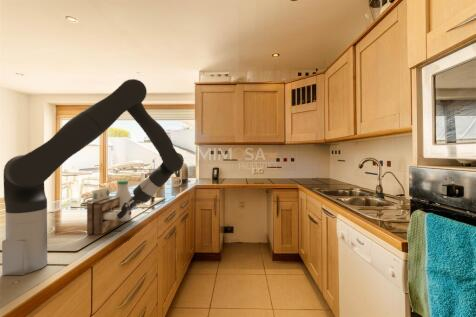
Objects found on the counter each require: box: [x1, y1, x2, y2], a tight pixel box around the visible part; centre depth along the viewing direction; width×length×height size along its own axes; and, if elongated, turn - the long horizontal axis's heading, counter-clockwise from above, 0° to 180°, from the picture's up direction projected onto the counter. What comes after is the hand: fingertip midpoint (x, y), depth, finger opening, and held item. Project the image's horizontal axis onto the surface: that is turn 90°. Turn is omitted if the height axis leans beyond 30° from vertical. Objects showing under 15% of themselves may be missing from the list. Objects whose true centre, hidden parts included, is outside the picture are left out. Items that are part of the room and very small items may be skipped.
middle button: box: [108, 210, 121, 214], centre depth 109 cm, size 3×5×3 cm, turn 88°
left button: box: [102, 212, 117, 220], centre depth 104 cm, size 3×5×3 cm, turn 88°
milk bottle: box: [114, 180, 132, 223], centre depth 123 cm, size 8×8×20 cm
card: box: [91, 186, 111, 203], centre depth 109 cm, size 12×1×5 cm, turn 178°
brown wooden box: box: [86, 196, 121, 235], centre depth 109 cm, size 15×6×13 cm, turn 178°
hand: (119, 216), depth 104 cm, fingers closed
